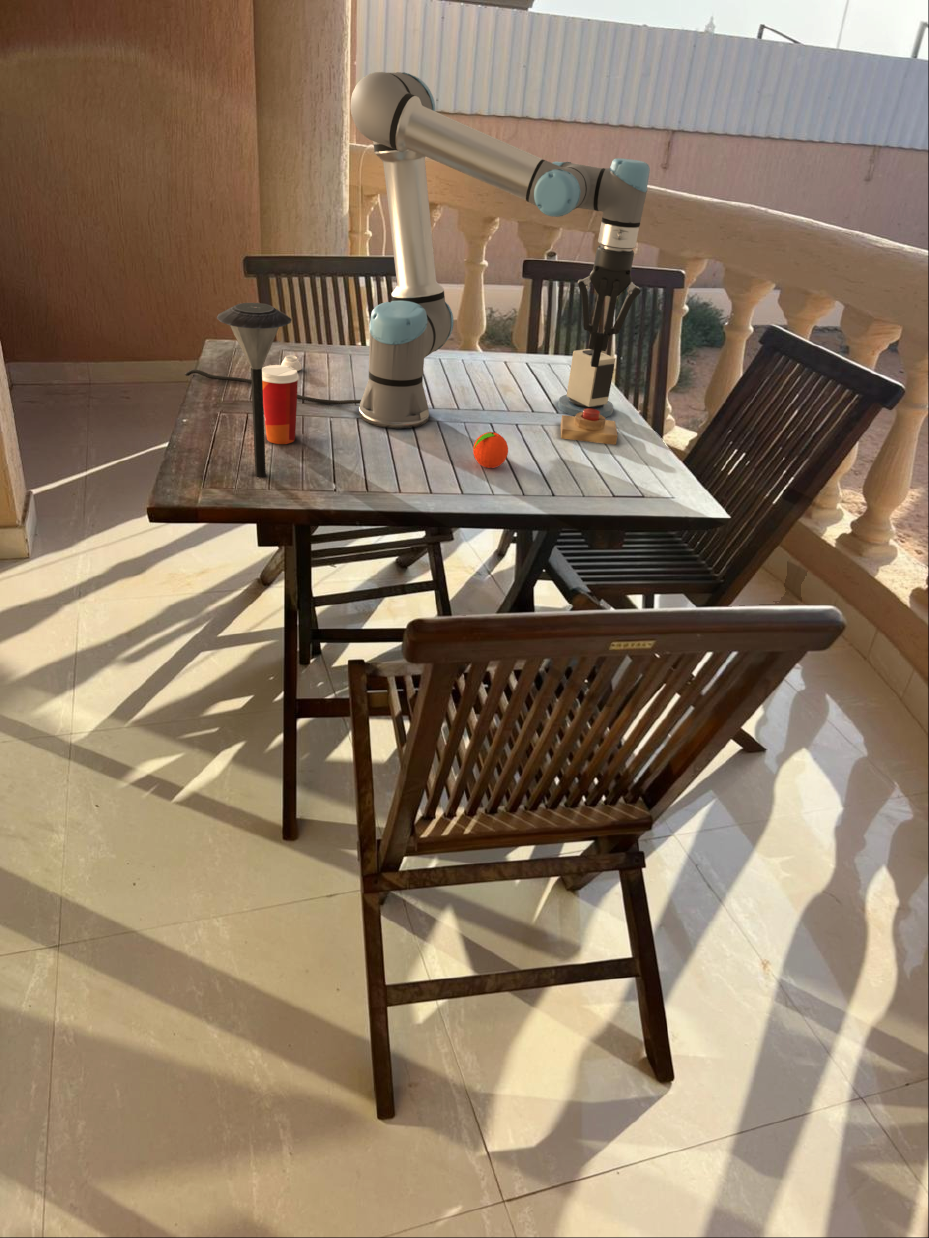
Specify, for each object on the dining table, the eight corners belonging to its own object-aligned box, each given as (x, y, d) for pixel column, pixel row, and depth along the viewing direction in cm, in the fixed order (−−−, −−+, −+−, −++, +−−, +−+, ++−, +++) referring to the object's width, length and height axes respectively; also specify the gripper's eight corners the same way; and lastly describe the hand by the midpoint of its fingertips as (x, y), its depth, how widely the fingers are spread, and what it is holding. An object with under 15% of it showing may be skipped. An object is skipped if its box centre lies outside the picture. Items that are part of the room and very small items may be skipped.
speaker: (561, 398, 208) (569, 349, 202) (587, 394, 213) (595, 346, 206) (585, 410, 202) (594, 360, 196) (612, 405, 207) (621, 356, 201)
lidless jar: (305, 371, 214) (294, 365, 216) (305, 359, 212) (294, 353, 215) (288, 374, 211) (276, 368, 213) (287, 361, 209) (276, 356, 212)
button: (582, 420, 191) (583, 413, 190) (582, 415, 194) (583, 407, 193) (598, 422, 191) (600, 414, 190) (598, 417, 194) (599, 409, 193)
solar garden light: (298, 487, 158) (296, 318, 142) (228, 490, 155) (218, 316, 138) (290, 460, 168) (287, 299, 152) (224, 462, 164) (213, 297, 148)
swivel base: (558, 415, 203) (559, 408, 202) (557, 397, 214) (558, 391, 213) (614, 421, 203) (615, 415, 202) (610, 403, 214) (611, 397, 213)
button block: (560, 438, 191) (563, 421, 188) (560, 424, 198) (563, 407, 196) (615, 445, 190) (619, 427, 188) (613, 430, 198) (616, 413, 196)
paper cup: (285, 429, 181) (284, 361, 173) (307, 441, 177) (307, 372, 169) (253, 436, 176) (250, 367, 168) (275, 449, 172) (273, 379, 164)
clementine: (483, 477, 169) (487, 442, 165) (460, 465, 173) (463, 430, 170) (513, 469, 174) (517, 435, 170) (489, 457, 178) (493, 423, 174)
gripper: (584, 246, 170) (564, 366, 183) (650, 255, 170) (626, 374, 183) (583, 240, 177) (563, 356, 189) (647, 248, 176) (623, 364, 189)
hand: (594, 365), depth 186 cm, fingers closed
